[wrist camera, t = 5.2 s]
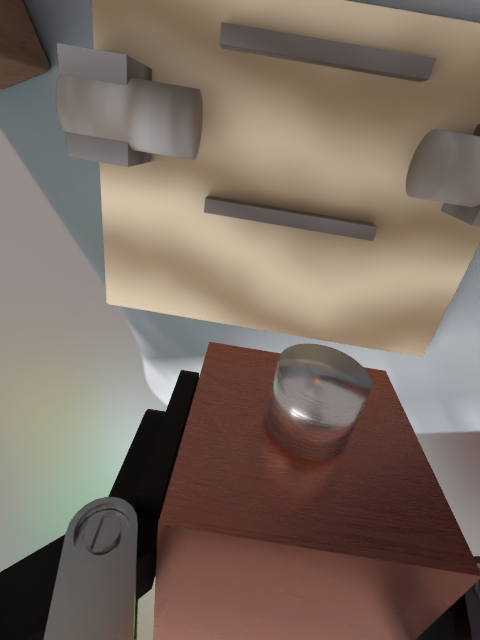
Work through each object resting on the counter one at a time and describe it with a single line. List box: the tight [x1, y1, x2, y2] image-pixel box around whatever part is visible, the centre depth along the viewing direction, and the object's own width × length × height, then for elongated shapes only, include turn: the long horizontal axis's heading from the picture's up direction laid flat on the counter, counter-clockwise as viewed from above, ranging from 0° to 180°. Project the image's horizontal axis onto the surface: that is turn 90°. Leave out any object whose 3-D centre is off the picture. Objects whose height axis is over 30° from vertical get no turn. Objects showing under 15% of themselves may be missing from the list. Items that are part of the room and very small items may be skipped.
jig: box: [56, 0, 480, 357], centre depth 19 cm, size 18×23×5 cm
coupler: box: [153, 342, 480, 640], centre depth 9 cm, size 5×8×5 cm, turn 172°
